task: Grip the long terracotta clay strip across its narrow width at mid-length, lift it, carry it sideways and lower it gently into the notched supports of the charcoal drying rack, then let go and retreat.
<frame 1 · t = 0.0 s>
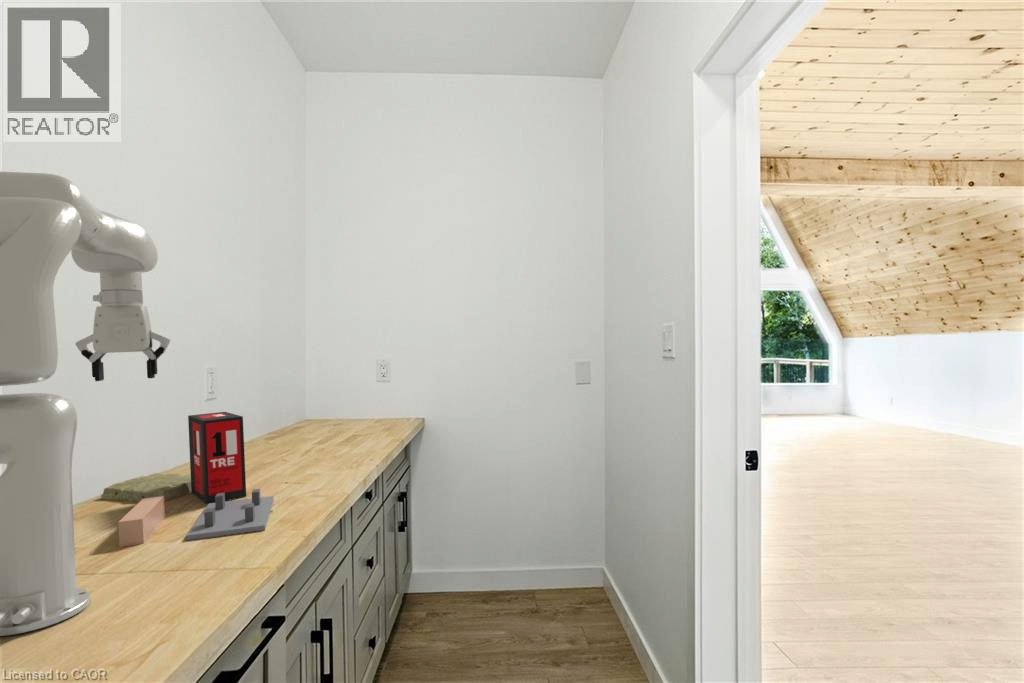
hand: (125, 379, 125), 31 cm above the counter, fingers open, 9 cm apart
clay strip: (144, 532, 120), on the counter
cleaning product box: (218, 495, 148), on the counter
drying rack: (234, 518, 126), on the counter
decorative tile: (158, 494, 153), on the counter
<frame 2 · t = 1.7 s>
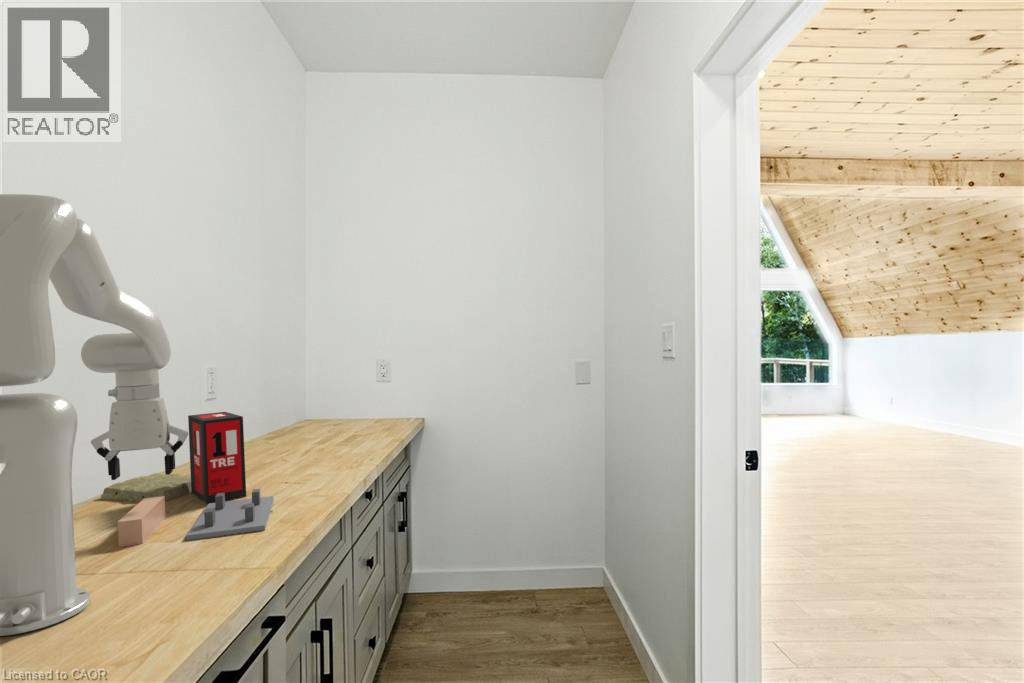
hand: (142, 475, 121), 11 cm above the counter, fingers open, 9 cm apart
nothing on the counter moved.
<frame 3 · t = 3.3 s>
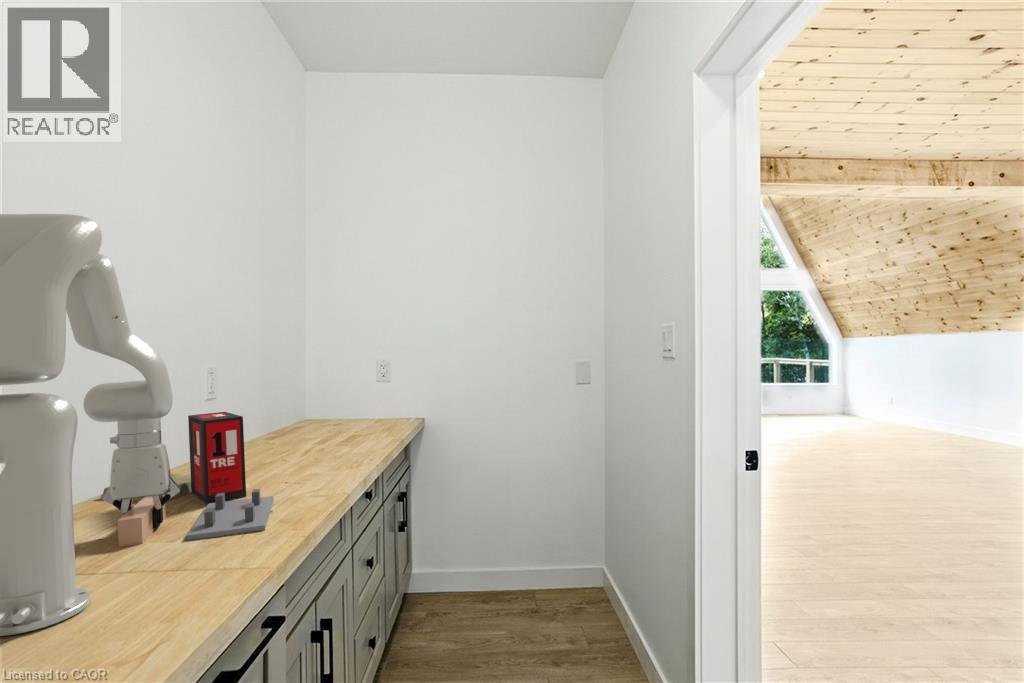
hand: (144, 527, 120), 1 cm above the counter, fingers closed on clay strip, 4 cm apart
clay strip: (144, 530, 120), on the counter, touching gripper
everything else where it was.
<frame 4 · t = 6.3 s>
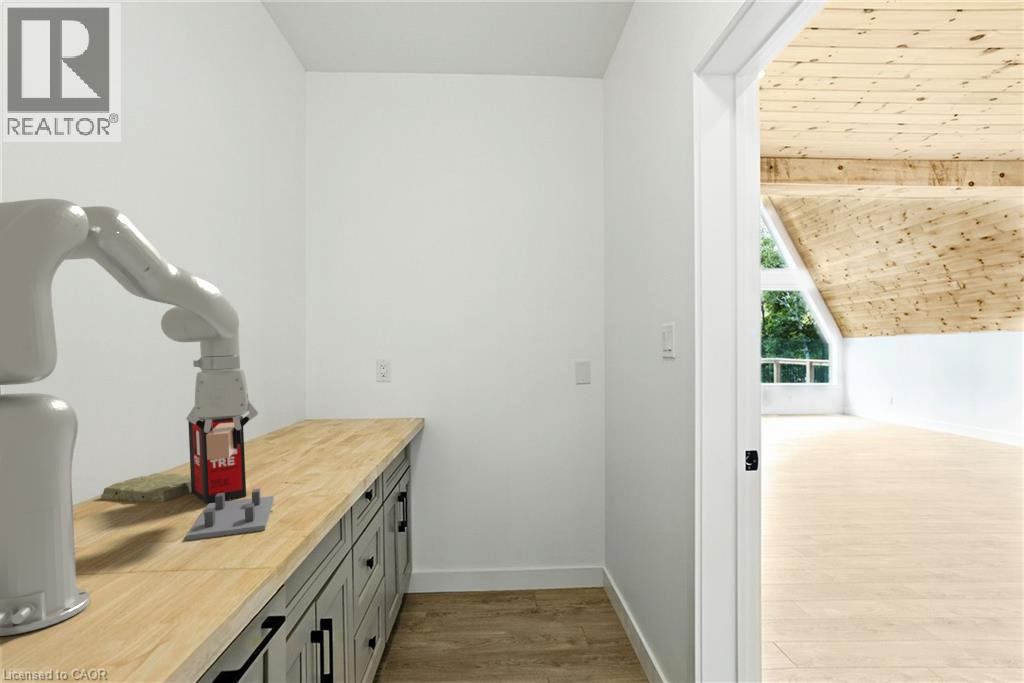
hand: (224, 448, 126), 15 cm above the counter, fingers closed on clay strip, 4 cm apart
clay strip: (224, 451, 126), point 15 cm above the counter, touching gripper
everything else where it was.
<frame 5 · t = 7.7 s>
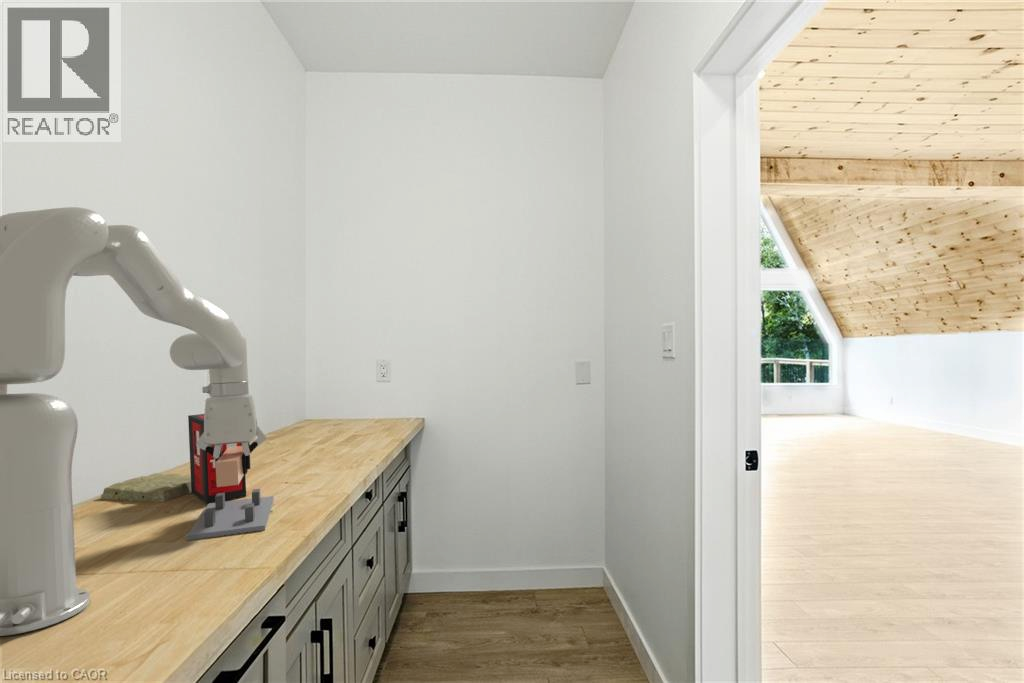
hand: (233, 473, 127), 10 cm above the counter, fingers closed on clay strip, 4 cm apart
clay strip: (233, 476, 127), point 9 cm above the counter, touching gripper
everything else where it was.
when the fingers open (3 cm above the counter, at t = 9.2 s): clay strip drops 1 cm, resting on drying rack.
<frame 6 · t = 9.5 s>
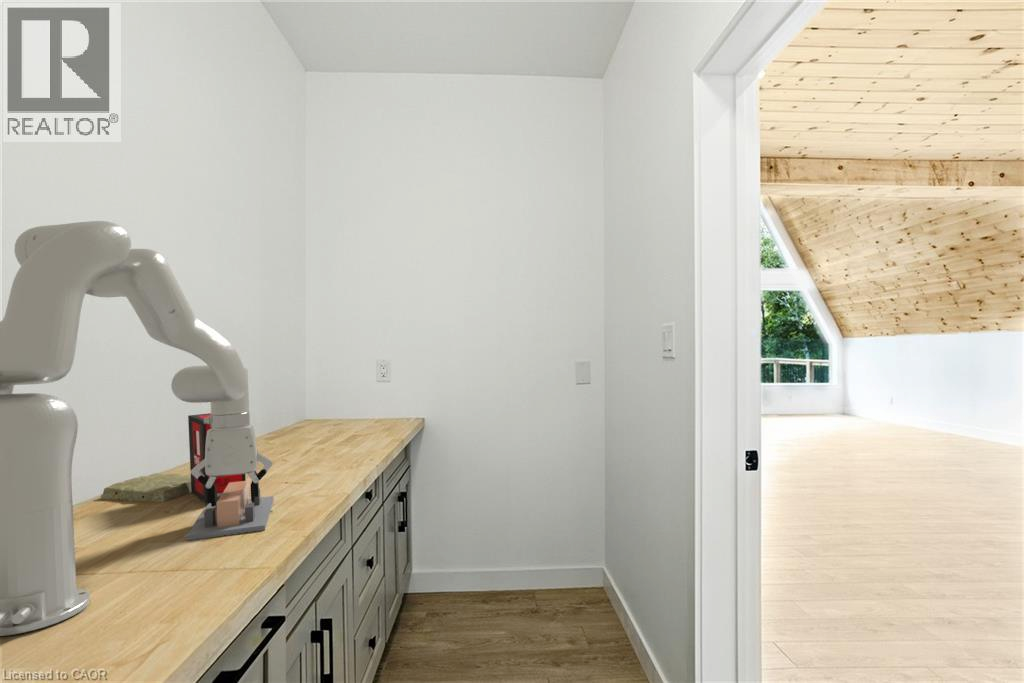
hand: (234, 502, 126), 3 cm above the counter, fingers open, 7 cm apart
clay strip: (234, 513, 126), point 1 cm above the counter, touching drying rack
everything else where it was.
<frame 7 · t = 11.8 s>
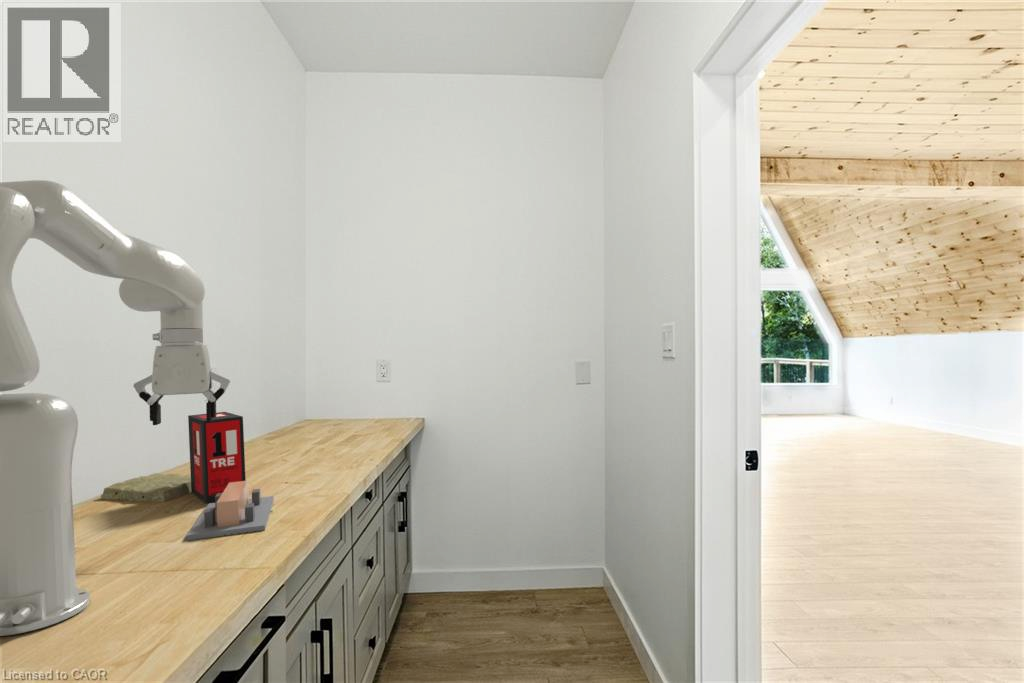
hand: (183, 422, 118), 22 cm above the counter, fingers open, 9 cm apart
nothing on the counter moved.
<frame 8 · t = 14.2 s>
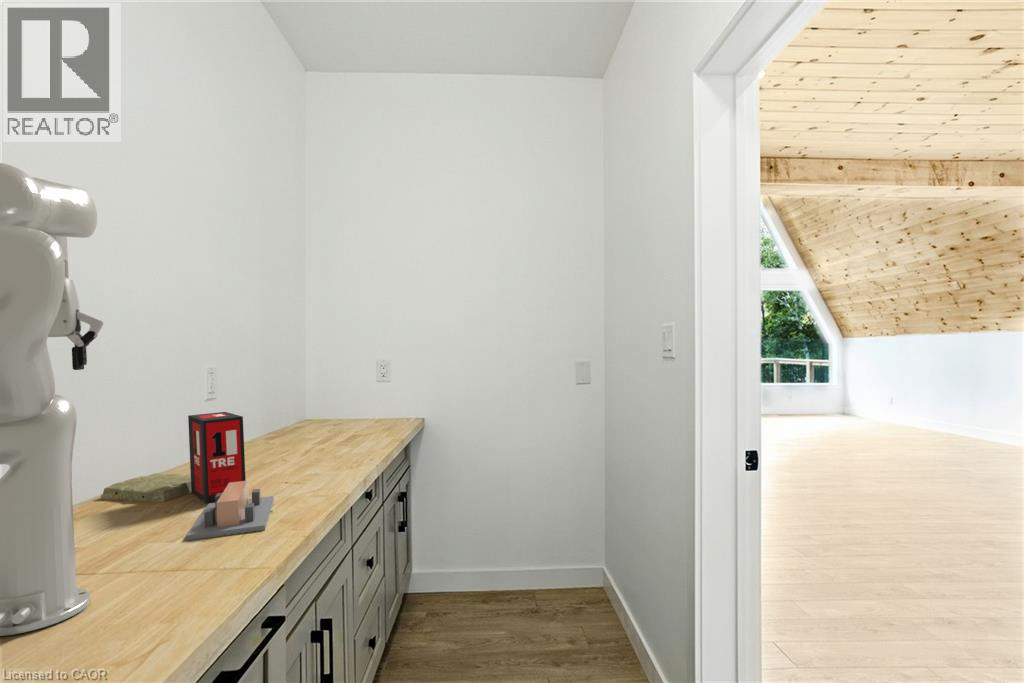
hand: (45, 371, 100), 34 cm above the counter, fingers open, 9 cm apart
nothing on the counter moved.
at the end: clay strip 0.1 cm off-centre on the drying rack, point 1.0 cm above the drying rack's base; clay strip tilted 0°; the gripper is holding nothing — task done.
